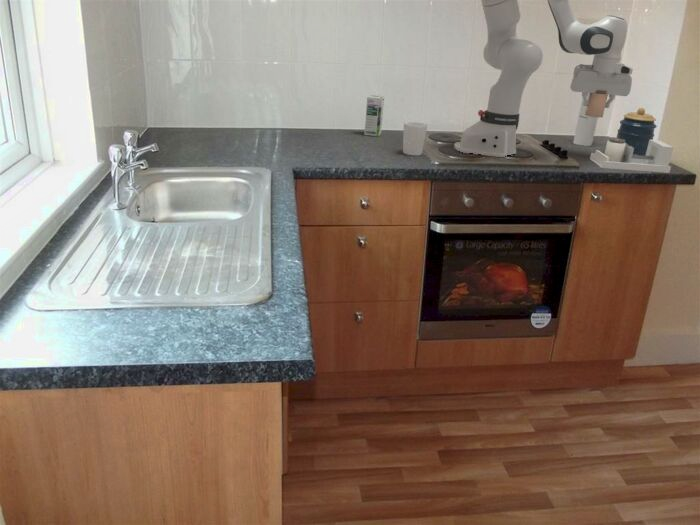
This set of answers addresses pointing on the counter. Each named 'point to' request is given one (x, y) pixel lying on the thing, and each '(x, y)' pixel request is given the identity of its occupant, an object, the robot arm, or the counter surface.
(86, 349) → the counter surface
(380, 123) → the syrup box
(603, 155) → the white tray
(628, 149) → the pusher
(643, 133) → the canister
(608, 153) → the lane jar
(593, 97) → the jar
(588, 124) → the cylindrical container
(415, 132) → the white cup
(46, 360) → the counter surface
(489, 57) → the robot arm
